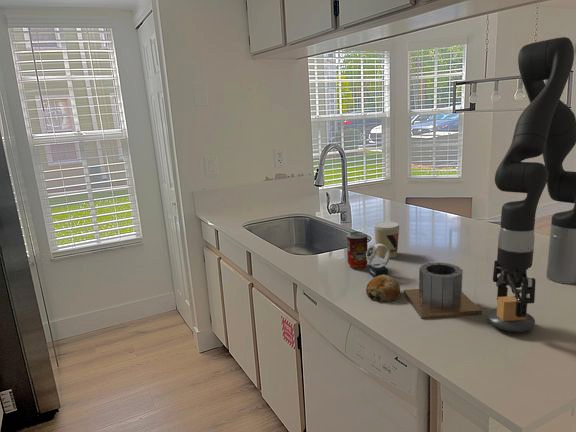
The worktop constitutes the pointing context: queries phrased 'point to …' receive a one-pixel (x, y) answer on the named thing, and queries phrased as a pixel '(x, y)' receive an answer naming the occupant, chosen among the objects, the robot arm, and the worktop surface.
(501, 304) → the cap
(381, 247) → the coffee cup
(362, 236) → the soda can
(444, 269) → the gray cylinder on base
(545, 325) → the worktop surface
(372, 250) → the watch
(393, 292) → the bread roll
